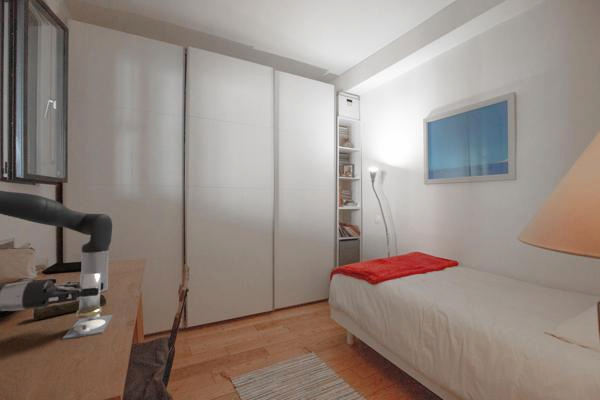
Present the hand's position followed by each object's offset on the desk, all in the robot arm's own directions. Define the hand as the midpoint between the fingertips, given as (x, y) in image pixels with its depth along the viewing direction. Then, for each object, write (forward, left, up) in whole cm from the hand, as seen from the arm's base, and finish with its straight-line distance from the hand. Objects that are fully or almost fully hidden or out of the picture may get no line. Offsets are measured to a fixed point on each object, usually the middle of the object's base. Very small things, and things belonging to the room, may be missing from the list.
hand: (100, 288), depth 82 cm
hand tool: (-17, -12, -12) cm, 23 cm away
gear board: (0, -2, -11) cm, 12 cm away
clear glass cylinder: (0, -3, -7) cm, 8 cm away
